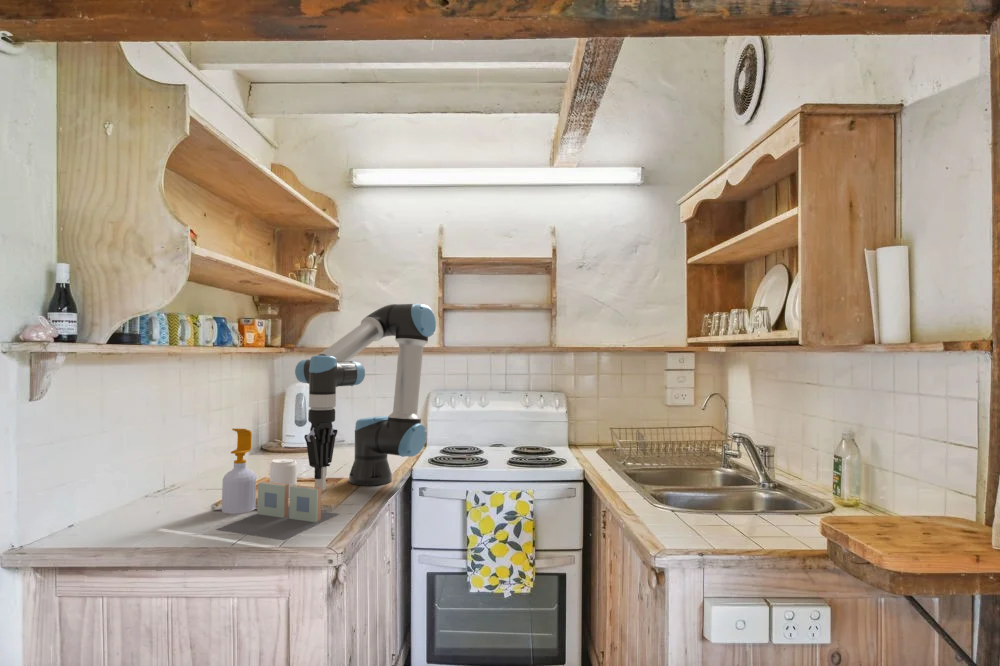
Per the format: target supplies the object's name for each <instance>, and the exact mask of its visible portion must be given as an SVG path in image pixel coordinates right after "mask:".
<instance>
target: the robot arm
mask: <svg viewBox="0 0 1000 666" xmlns="http://www.w3.org/2000/svg"><path fill="white" fill-rule="evenodd" d="M436 327H437V321H436V317H435V313H434V312H433V309H432V308H431V307H430V306H428V305H427V304H424V303H423V304H421V303H403V304H401V303H400V304H399V303H398V304H396V303H394V304H393V303H391V304H388V305H387V304H386V305H384V306H382V307H380V308H378V309H376V310H375V311H373V312H371V313H370V314H367V316H365V317H364V318H363V319H362V320H361V322H360V324H359V325H358V326H356V327H355V328H353V329H352V330H351V331H349V332H348V333H347V334H345V335H344V336H343V337H341V338H340V339H338V340H337V341H336V342H334V343H333V344H332V345H330V346H328V347H327V348H326V349H324V350H323V351H322V352H321V353H319V354H318V355H312V356H311V357H310V359H309V358H308V359H302V360H301V361H299V362H298V363H297V364H296V365H295V369H294V374H295V375H294V376H295V378H296V379H297V381H299V382H300V383H302V384H308V385H309V386H308V387H309V388H308V390H309V391H308V394H309V395H308V396H309V397H308V407H309V410H308V417H307V418H308V419H307V421H308V422H309V423H310V424H311V427H310V429H309V430H310V431H309V433H308V434H304V437H303V438H304V440H305V442H306V449H307V457H308V464H309V467H311V468H314V475H313V476H314V487H317V488H321V491H324V490H326V487H327V486H326V485H327V484H326V483H327V470H328V469H327V467H330V466H331V463H332V461H333V454H334V449H335V442H336V437H337V434H338V429H334V428H333V422H335V421H336V409H335V408H336V407H337V406H336V405H337V403H336V401H337V399H336V398H337V394H336V393H337V387H349V386H350V387H353V386H357V385H360V384H361V383H362V382H363V381H364V379H365V377H366V370H365V368H364V365H363V364H362V363H361V362H359V361H353V360H352V358H354V357H355V356H356V355H358V354H359V353H361V352H362V351H363V350H364V349H366V348H367V347H368V346H369V345H370V344H372V343H373V342H378V341H381V340H382V339H383V338H386V337H392V336H394V337H395V338H394V339H395V341H396V342H397V344H398V354H397V363H396V364H397V365H396V374H395V375H396V376H395V383H394V384H395V385H394V386H395V387H394V397H393V408H392V412H391V413H390V414H389V415H388V416H387V415H382V416H372V417H365V418H359V419H357V420H356V421H355V427H354V428H355V429H354V460H353V464H352V466H351V469H350V472H349V474H348V475H349V476H348V482H349V483H350V484H352V485H356V486H367V487H369V486H379V485H384V484H388V483H390V482H392V479H393V474H392V471H391V467H390V463H389V460H388V455H391V456H397V457H403V458H404V457H409V458H411V457H416V456H417V455H419V454H420V452H421V451H422V450H423V448H424V446H425V444H426V441H427V435H428V434H427V433H428V432H427V429H426V427H425V425H424V424H422V423H421V422H422V418H421V416H420V415H419V413H418V409H419V398H420V397H419V396H420V387H421V386H420V385H421V376H422V374H421V373H422V364H423V363H422V362H423V353H424V352H423V351H424V347H425V345H427V344H428V341H429V338H430V337H432V336H433V335H434V334H435V332H436Z"/></svg>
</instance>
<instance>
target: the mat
mask: <svg viewBox="0 0 1000 666" xmlns="http://www.w3.org/2000/svg"><path fill="white" fill-rule="evenodd" d="M339 515H340V513H335V512H327V511H321V520H320V521H318V522H310V521H303V520H296V519H289V508H288V516H286V517H284V518H282V517H274V516H267V515H260V514H257V513H255V514H253V515H249V516H247V517H244V518H242V519H240V520H237V521H233V522H232V523H231V522H230V523H229V524H226V525H224V526H221V527H219V528H216V529H215V530H216V531H221V532H226V533H227V532H229V533H233V534H241V535H247V536H253V537H260V538H266V539H273V540H279V541H286V540H288V539H290V538H293V537H295V536H296V535H299V534H301V533H303V532H305V531H308V530H310V529H311V528H313V527H316V526H317V525H320V524H322V523H324V522H327V521H328V520H330V519H333V518H335V517H337V516H339Z"/></svg>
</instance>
